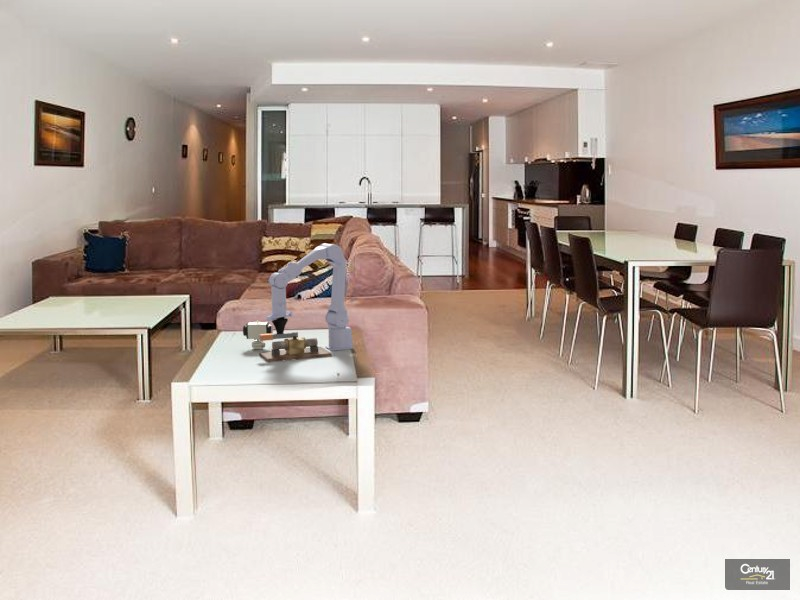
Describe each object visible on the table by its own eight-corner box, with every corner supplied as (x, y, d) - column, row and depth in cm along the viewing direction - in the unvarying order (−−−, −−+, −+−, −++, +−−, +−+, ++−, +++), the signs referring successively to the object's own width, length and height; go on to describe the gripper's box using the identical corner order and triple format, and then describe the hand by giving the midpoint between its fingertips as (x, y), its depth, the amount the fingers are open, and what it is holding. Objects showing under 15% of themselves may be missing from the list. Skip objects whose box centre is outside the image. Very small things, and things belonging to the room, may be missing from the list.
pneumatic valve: (271, 349, 334) (270, 321, 332) (243, 350, 334) (242, 321, 332) (273, 347, 339) (272, 319, 337) (246, 347, 339) (245, 319, 337)
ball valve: (320, 349, 334) (320, 332, 333) (331, 356, 321) (331, 337, 320) (259, 355, 323) (258, 337, 322) (267, 362, 311) (267, 343, 310)
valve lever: (297, 336, 323) (296, 331, 322) (298, 337, 320) (298, 332, 320) (259, 339, 317) (259, 334, 317) (260, 340, 315) (260, 335, 314)
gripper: (276, 306, 311) (277, 340, 313) (297, 301, 323) (298, 334, 325) (261, 305, 314) (262, 339, 316) (283, 299, 327) (284, 332, 329)
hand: (280, 336), depth 321 cm, fingers closed, pressing on valve lever
